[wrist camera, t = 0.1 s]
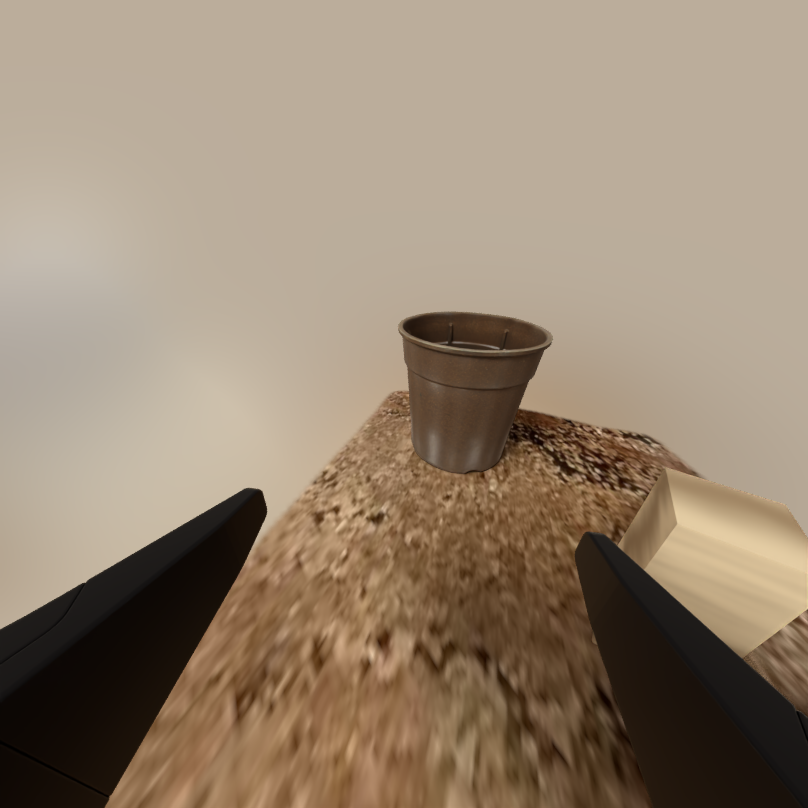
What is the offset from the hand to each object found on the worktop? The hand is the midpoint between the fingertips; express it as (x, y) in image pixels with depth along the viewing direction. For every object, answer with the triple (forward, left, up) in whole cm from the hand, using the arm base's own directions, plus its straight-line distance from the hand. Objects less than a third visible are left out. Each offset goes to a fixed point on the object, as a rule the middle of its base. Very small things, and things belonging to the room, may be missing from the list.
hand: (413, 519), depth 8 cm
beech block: (+7, -16, -17) cm, 24 cm away
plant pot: (+27, -4, -17) cm, 32 cm away
